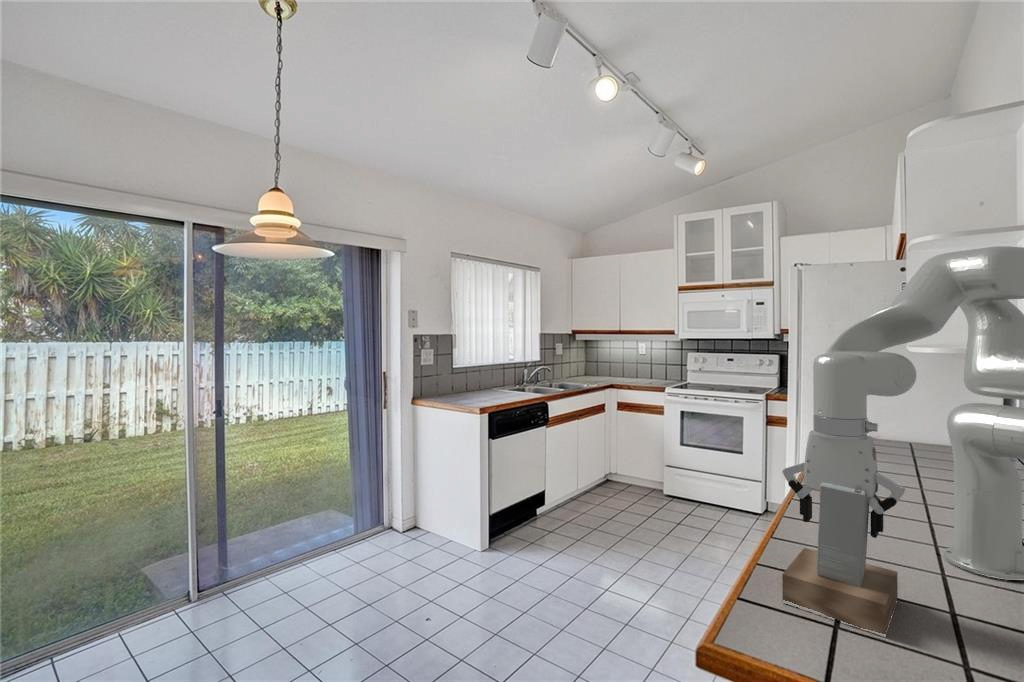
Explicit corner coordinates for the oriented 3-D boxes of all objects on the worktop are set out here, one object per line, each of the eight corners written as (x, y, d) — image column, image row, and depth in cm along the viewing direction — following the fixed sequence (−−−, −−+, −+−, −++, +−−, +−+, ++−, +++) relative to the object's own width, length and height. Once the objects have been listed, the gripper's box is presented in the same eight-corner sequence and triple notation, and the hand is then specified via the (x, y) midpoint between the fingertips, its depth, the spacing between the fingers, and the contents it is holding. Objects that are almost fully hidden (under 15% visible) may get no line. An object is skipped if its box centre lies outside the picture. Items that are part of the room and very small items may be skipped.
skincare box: (823, 558, 89) (822, 471, 88) (872, 570, 84) (871, 478, 84) (814, 576, 82) (814, 482, 82) (866, 590, 77) (866, 491, 77)
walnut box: (897, 600, 83) (897, 571, 83) (885, 638, 73) (885, 605, 73) (804, 573, 93) (804, 547, 93) (782, 603, 83) (782, 574, 83)
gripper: (907, 429, 80) (907, 534, 80) (789, 418, 92) (789, 509, 92) (901, 437, 74) (901, 549, 74) (776, 423, 86) (777, 520, 86)
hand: (839, 527), depth 83 cm, fingers open, 9 cm apart
